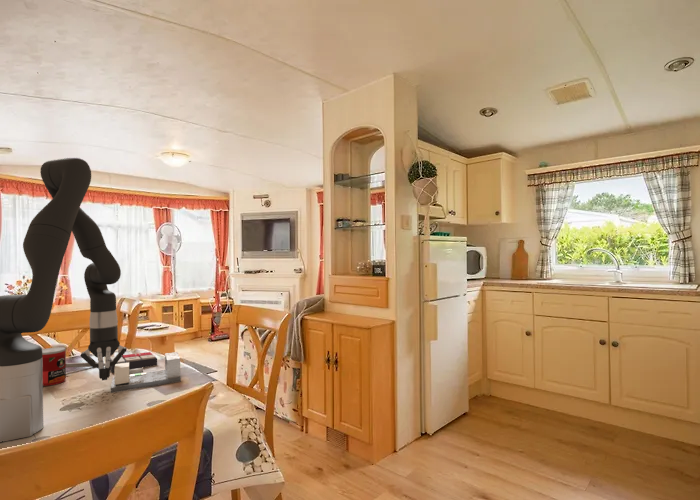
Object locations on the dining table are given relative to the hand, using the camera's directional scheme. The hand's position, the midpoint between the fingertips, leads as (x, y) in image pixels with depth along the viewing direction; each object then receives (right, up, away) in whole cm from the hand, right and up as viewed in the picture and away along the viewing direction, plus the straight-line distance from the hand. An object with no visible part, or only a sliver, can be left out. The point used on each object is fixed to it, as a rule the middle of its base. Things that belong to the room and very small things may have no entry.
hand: (104, 379), depth 125 cm
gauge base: (+10, -3, +6) cm, 12 cm away
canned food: (-23, -4, +8) cm, 24 cm away
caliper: (-24, -4, +21) cm, 32 cm away
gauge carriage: (+5, -1, +5) cm, 7 cm away
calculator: (-5, -4, +26) cm, 27 cm away
